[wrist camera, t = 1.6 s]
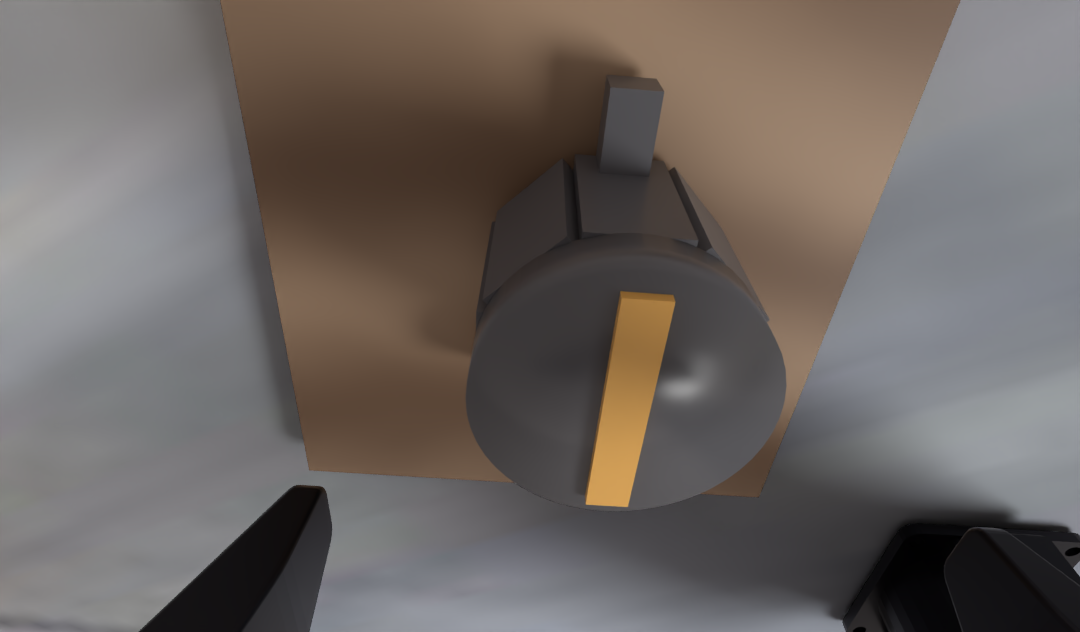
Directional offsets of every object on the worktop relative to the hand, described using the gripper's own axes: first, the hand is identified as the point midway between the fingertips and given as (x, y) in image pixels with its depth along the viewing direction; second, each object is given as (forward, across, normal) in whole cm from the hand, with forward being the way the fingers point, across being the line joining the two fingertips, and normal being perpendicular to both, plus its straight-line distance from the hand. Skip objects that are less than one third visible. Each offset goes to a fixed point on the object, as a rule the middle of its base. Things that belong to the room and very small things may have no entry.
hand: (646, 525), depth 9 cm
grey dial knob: (+7, 0, -1) cm, 7 cm away
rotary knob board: (+8, +1, -1) cm, 9 cm away
